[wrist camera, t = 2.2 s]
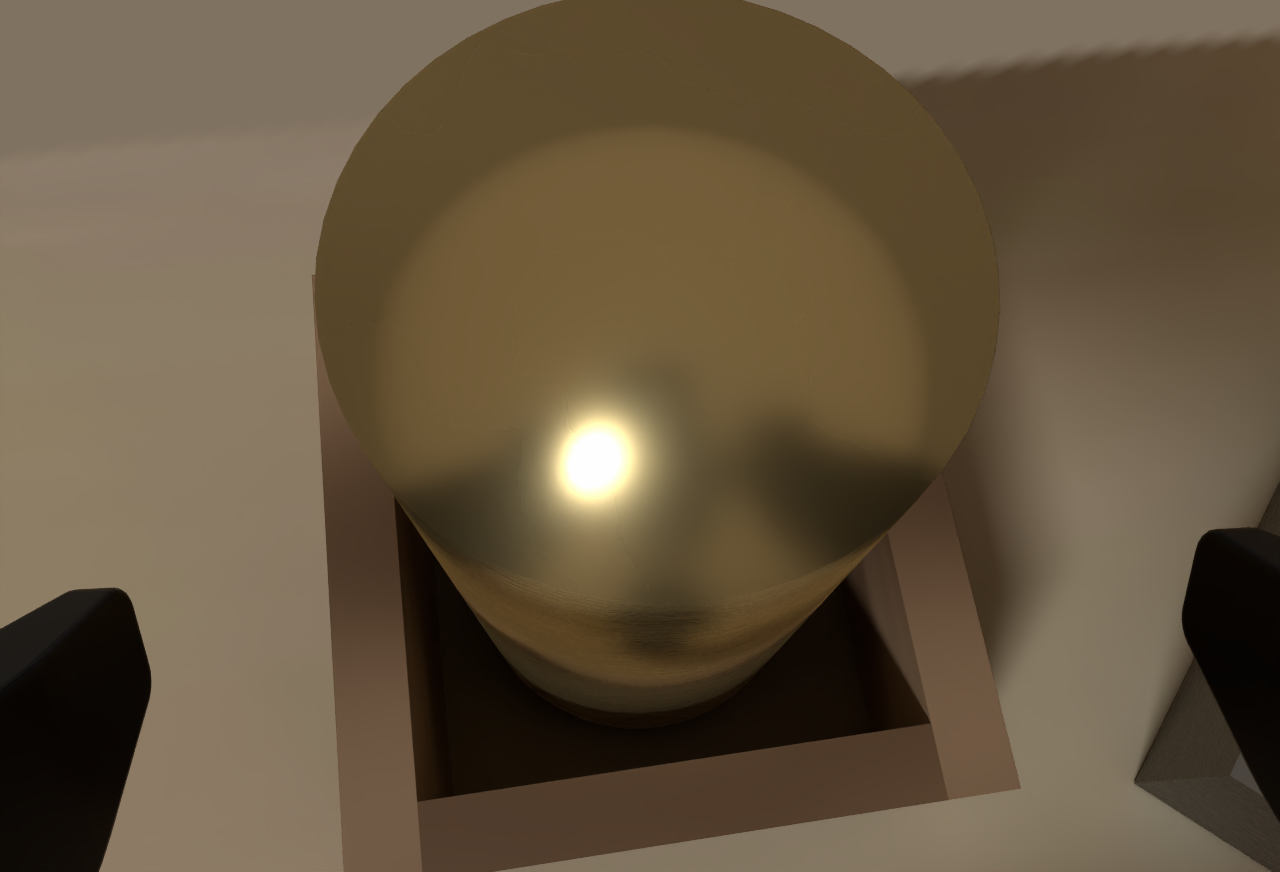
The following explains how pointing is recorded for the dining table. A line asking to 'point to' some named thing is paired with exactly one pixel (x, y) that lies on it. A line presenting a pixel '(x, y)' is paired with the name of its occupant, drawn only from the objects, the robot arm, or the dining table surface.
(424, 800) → the walnut socket
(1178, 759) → the tray
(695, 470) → the tan cylinder
